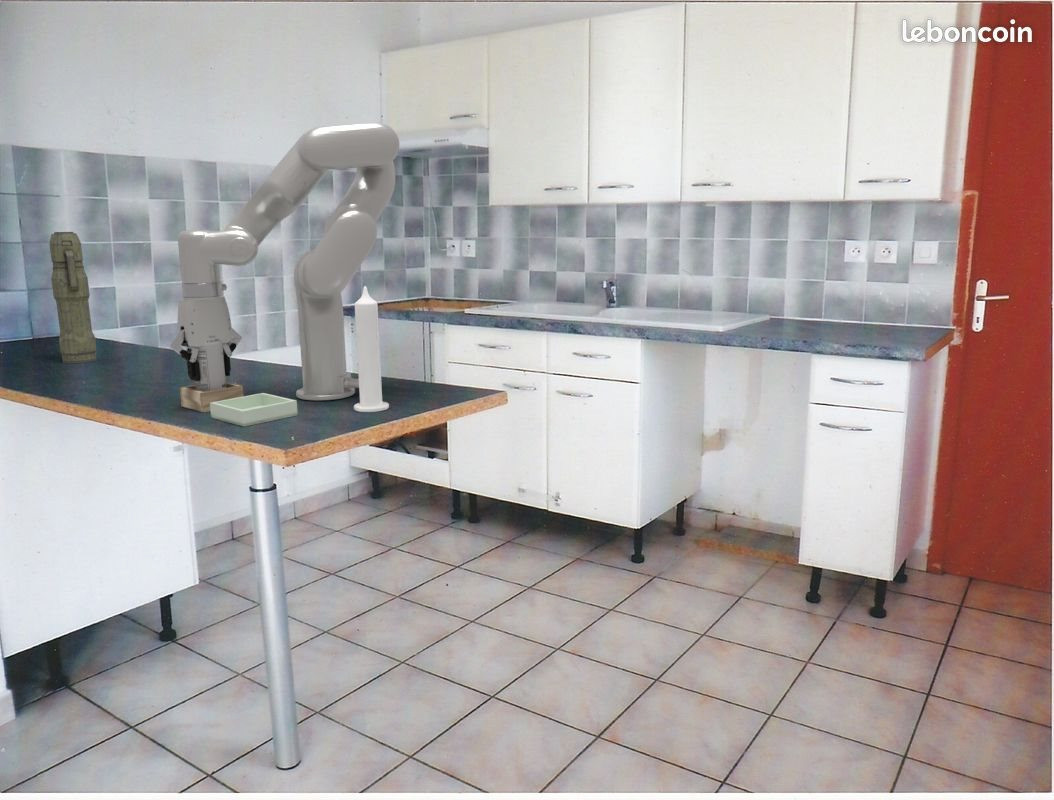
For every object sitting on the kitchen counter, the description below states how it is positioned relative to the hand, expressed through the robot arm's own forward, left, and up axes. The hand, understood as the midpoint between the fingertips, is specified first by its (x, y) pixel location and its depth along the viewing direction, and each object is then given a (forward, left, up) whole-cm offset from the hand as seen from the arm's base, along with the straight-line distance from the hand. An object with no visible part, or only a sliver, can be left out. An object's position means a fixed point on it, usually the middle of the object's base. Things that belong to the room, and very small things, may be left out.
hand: (210, 376), depth 183 cm
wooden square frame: (0, 0, -6) cm, 6 cm away
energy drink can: (0, 0, -6) cm, 6 cm away
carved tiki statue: (+64, -52, -6) cm, 83 cm away
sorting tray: (-13, +9, -6) cm, 17 cm away
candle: (-35, 0, -6) cm, 35 cm away
